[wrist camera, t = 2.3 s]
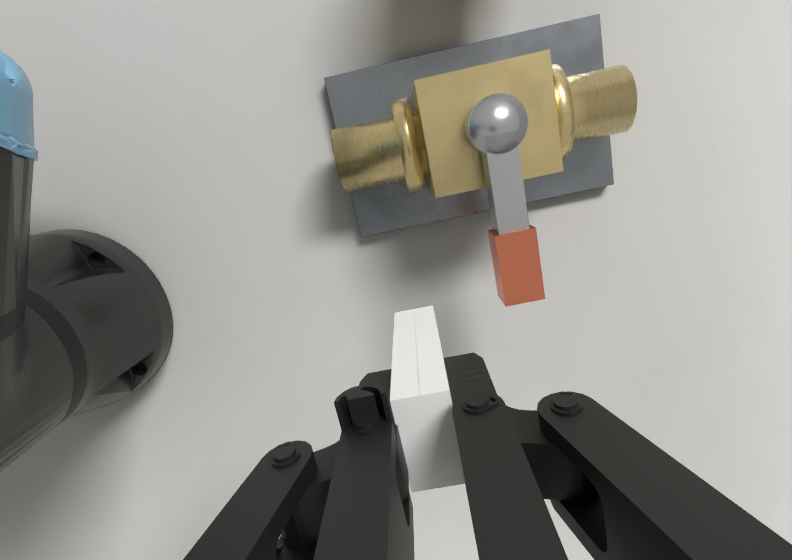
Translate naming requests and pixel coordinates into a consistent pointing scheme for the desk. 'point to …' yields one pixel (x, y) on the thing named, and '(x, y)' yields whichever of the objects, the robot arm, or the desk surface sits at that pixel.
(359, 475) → the robot arm
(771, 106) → the desk surface
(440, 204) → the valve block
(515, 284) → the lever
